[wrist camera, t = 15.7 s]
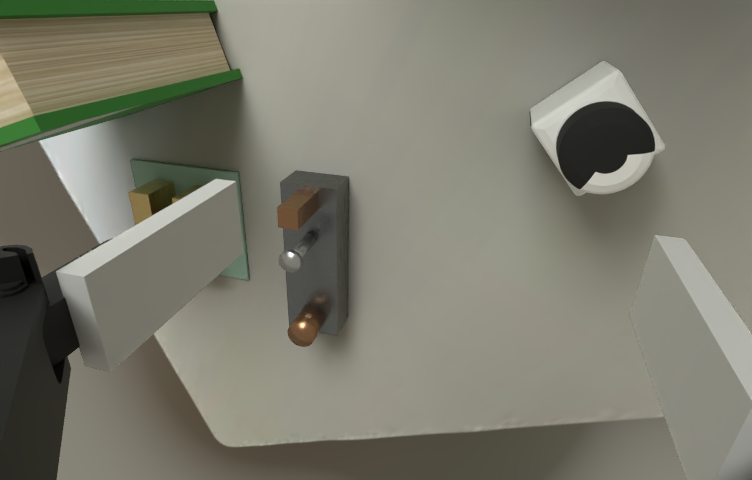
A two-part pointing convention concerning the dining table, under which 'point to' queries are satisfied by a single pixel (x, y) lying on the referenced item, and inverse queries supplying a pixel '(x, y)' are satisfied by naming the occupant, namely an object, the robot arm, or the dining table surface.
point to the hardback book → (100, 61)
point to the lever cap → (155, 198)
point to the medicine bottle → (596, 132)
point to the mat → (186, 179)
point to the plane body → (315, 253)
